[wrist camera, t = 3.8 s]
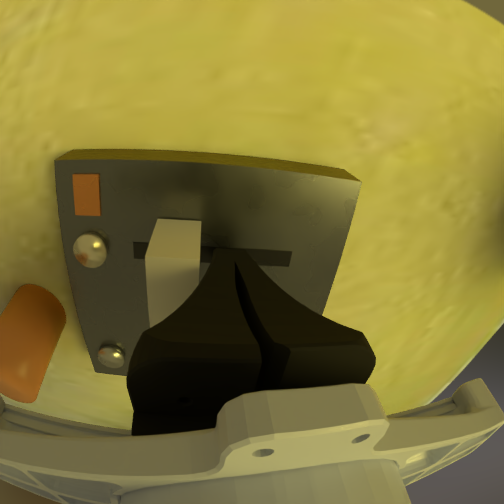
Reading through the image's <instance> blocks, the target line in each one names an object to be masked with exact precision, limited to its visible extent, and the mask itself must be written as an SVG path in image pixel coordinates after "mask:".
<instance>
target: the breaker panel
mask: <svg viewBox="0 0 504 504" xmlns="http://www.w3.org/2000/svg"><path fill="white" fill-rule="evenodd" d="M55 178H56V191H57V201H58V211H59V219H60V227H61V234H62V240H63V247H64V253H65V258H66V264H67V269H68V274H69V279H70V284H71V288H72V293H73V297H74V301H75V305H76V309H77V313H78V317H79V321H80V324H81V328H82V332H83V335H84V338H85V342H86V345H87V348H88V352H89V355H90V358H91V361H92V364H93V367H94V370H95V372H97V373H105V374H113V375H122V376H127V373H128V367H129V362H130V359H131V356H132V354H133V351H134V348H135V346H136V344H137V342H138V340H139V338H140V336H141V334H142V333H143V332H144V331H145V330H147V329H149V328H150V322H149V311H148V298H147V284H146V266H145V255H146V252H147V249H148V246H149V243H150V240H151V237H152V234H153V231H154V228H155V225H156V222H157V219H174V220H191V221H201V242H200V267H199V283H200V281H201V280H202V278H203V276H204V275H205V273H206V271H207V269H208V267H209V265H210V263H211V260H212V257H213V250H215V249H216V248H223V249H240V250H246V251H247V253H248V254H249V255H250V256H251V257H252V259H253V260H254V261H255V262H256V263H257V264H258V266H259V267H260V268H261V269H262V270H263V271H264V272H265V273H266V274H267V275H268V276H269V277H270V278H271V279H272V280H273V281H274V282H275V283H276V284H277V285H278V286H279V287H280V288H281V289H282V290H284V291H285V292H286V293H287V294H289V295H290V296H291V297H293V298H294V299H295V300H297V301H298V302H300V303H301V304H303V305H304V306H306V307H307V308H309V309H311V310H312V311H314V312H316V313H318V314H320V315H321V316H322V314H323V311H324V308H325V305H326V302H327V299H328V296H329V293H330V290H331V287H332V284H333V281H334V278H335V275H336V272H337V269H338V265H339V262H340V259H341V256H342V252H343V249H344V246H345V242H346V239H347V235H348V232H349V229H350V225H351V221H352V218H353V214H354V211H355V207H356V203H357V199H358V196H359V192H360V188H361V184H362V182H361V181H360V180H358V179H357V178H356V177H354V176H353V175H351V174H350V173H348V172H347V171H346V170H344V169H338V168H332V167H326V166H319V165H313V164H306V163H299V162H292V161H284V160H276V159H268V158H259V157H250V156H240V155H229V154H217V153H204V152H189V151H169V150H140V149H83V150H72V151H70V152H68V153H66V154H64V155H63V156H61V157H59V158H57V159H56V160H55Z"/></svg>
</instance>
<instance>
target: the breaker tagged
mask: <svg viewBox="0 0 504 504" xmlns="http://www.w3.org/2000/svg"><path fill="white" fill-rule="evenodd" d="M200 242H201V221H191V220H174V219H157V222H156V225H155V228H154V231H153V234H152V237H151V240H150V243H149V246H148V249H147V252H146V255H145V266H146V284H147V298H148V311H149V322H150V328H151V327H153V326H154V325H156V324H158V323H160V322H161V321H163V320H164V319H165V318H166V317H168V316H169V315H170V314H171V313H173V312H174V311H175V310H176V309H177V308H178V307H180V306H181V305H182V304H183V302H184V301H185V300H186V299H187V298H188V297H189V296H190V295H191V294H192V292H193V291H194V290H195V289H196V287H197V286H198V284H199V267H200Z"/></svg>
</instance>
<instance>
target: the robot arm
mask: <svg viewBox="0 0 504 504" xmlns="http://www.w3.org/2000/svg"><path fill="white" fill-rule="evenodd" d="M375 363H376V357H375V355H374V352H373V350H372V348H371V346H370V345H369V343H368V341H367V339H366V337H365V336H364V334H363V333H362V332H360V331H357V330H354V329H352V328H349V327H346V326H343V325H341V324H338V323H336V322H334V321H332V320H330V319H327V318H325V317H323V316H321V315H320V314H318V313H316V312H314V311H312V310H311V309H309V308H307V307H306V306H304V305H303V304H301V303H300V302H298V301H297V300H295V299H294V298H293V297H291V296H290V295H289V294H287V293H286V292H285V291H284V290H282V289H281V288H280V287H279V286H278V285H277V284H276V283H275V282H274V281H273V280H272V279H271V278H270V277H269V276H268V275H267V274H266V273H265V272H264V271H263V270H262V269H261V268H260V267H259V266H258V264H257V263H256V262H255V261H254V260H253V259H252V257H251V256H250V255H249V254H248V253H247V251H246V250H240V249H223V248H216V249H215V250H213V257H212V260H211V263H210V265H209V267H208V269H207V271H206V273H205V275H204V276H203V278H202V280H201V281H200V283H199V284H198V286H197V287H196V289H195V290H194V291H193V292H192V294H191V295H190V296H189V297H188V298H187V299H186V300H185V301H184V302H183V304H182V305H181V306H180V307H178V308H177V309H176V310H175V311H174V312H173V313H171V314H170V315H169V316H168V317H166V318H165V319H164V320H163V321H161V322H160V323H158V324H156V325H154V326H153V327H151V328H149V329H147V330H145V331H144V332H143V333H142V334H141V336H140V338H139V340H138V342H137V344H136V346H135V348H134V351H133V354H132V356H131V359H130V362H129V367H128V373H127V378H126V380H127V389H128V392H129V396H130V400H131V403H132V406H133V410H134V413H133V422H132V430H124V429H116V428H109V427H103V426H96V425H90V424H85V423H80V422H75V421H70V420H65V419H60V418H56V417H52V416H48V415H44V414H40V413H36V412H32V411H28V410H25V409H21V408H18V407H15V406H12V405H8V404H5V402H4V400H3V399H2V397H1V395H0V479H1V480H4V481H6V482H8V483H11V484H13V485H15V486H17V487H20V488H22V489H25V490H27V491H30V492H32V493H35V494H37V495H40V496H43V497H45V498H48V499H51V500H54V501H57V502H60V503H62V504H411V502H410V499H409V496H408V494H407V491H406V489H405V486H406V485H408V484H411V483H413V482H415V481H417V480H419V479H422V478H424V477H425V476H428V475H430V474H432V473H434V472H436V471H438V470H440V469H441V468H443V467H445V466H447V465H449V464H451V463H453V462H455V461H457V460H458V459H460V458H462V457H464V456H466V455H468V454H470V453H471V452H473V451H474V450H475V449H476V448H477V447H478V446H480V445H481V444H482V443H483V442H484V441H485V440H486V439H488V438H489V437H490V436H491V435H492V434H493V433H494V432H495V431H496V430H497V429H499V428H500V427H501V426H502V425H503V424H504V413H503V412H502V410H501V408H500V407H499V405H498V403H497V402H496V400H495V399H494V397H493V396H492V394H491V393H490V391H489V390H488V388H487V386H486V385H485V383H484V382H483V380H482V379H481V378H478V379H475V380H472V381H469V382H466V383H464V384H463V385H461V386H460V387H459V388H458V389H457V390H456V391H455V393H454V394H453V396H452V397H450V398H447V399H445V400H441V401H438V402H435V403H431V404H428V405H425V406H421V407H418V408H414V409H411V410H407V411H403V412H399V413H395V414H391V415H387V416H386V414H385V412H384V409H383V407H382V405H381V403H380V401H379V399H378V396H377V394H376V392H375V390H374V389H373V388H372V387H371V386H370V385H368V384H365V383H366V381H367V380H368V378H369V377H370V375H371V373H372V371H373V369H374V367H375Z"/></svg>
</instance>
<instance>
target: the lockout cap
mask: <svg viewBox="0 0 504 504" xmlns="http://www.w3.org/2000/svg"><path fill="white" fill-rule="evenodd" d="M65 324H66V314H65V311H64V308H63V306H62V305H61V303H60V302H59V300H58V299H57V298H56V297H55V296H54V295H53V294H52V293H50V292H49V291H48V290H46V289H44V288H42V287H40V286H37V285H33V284H26V285H23V286H21V287H20V288H19V289H18V290H17V291H16V293H15V294H14V296H13V297H12V299H11V300H10V302H9V303H8V305H7V306H6V308H5V310H4V311H3V313H2V314H1V316H0V393H2V394H3V395H5V396H7V397H9V398H11V399H13V400H15V401H18V402H22V403H32V402H34V401H35V400H36V398H37V395H38V392H39V390H40V387H41V384H42V381H43V378H44V376H45V373H46V370H47V368H48V365H49V362H50V360H51V357H52V355H53V352H54V350H55V347H56V345H57V342H58V340H59V338H60V335H61V333H62V331H63V328H64V326H65Z"/></svg>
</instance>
